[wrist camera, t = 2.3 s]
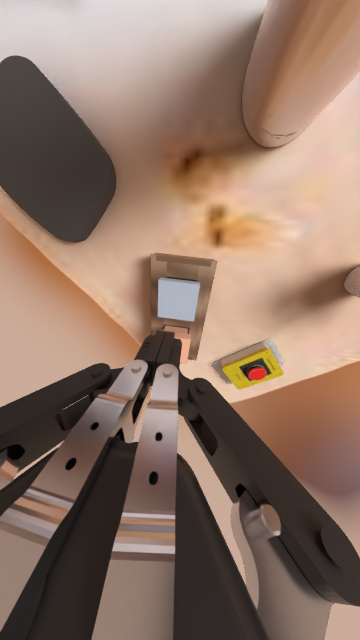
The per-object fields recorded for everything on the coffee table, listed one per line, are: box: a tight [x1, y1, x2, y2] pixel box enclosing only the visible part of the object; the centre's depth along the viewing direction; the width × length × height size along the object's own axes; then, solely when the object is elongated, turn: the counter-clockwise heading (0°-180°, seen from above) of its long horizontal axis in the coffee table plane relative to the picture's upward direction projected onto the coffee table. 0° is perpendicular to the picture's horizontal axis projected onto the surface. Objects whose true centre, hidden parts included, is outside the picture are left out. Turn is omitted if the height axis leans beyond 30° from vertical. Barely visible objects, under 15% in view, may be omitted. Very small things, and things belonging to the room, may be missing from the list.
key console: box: [151, 253, 217, 360], centre depth 27 cm, size 20×10×4 cm, turn 174°
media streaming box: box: [0, 56, 116, 242], centre depth 20 cm, size 15×15×3 cm
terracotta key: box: [162, 325, 191, 364], centre depth 26 cm, size 6×6×4 cm
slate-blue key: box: [158, 277, 200, 322], centre depth 22 cm, size 6×6×4 cm
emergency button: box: [213, 339, 285, 389], centre depth 33 cm, size 9×4×15 cm
